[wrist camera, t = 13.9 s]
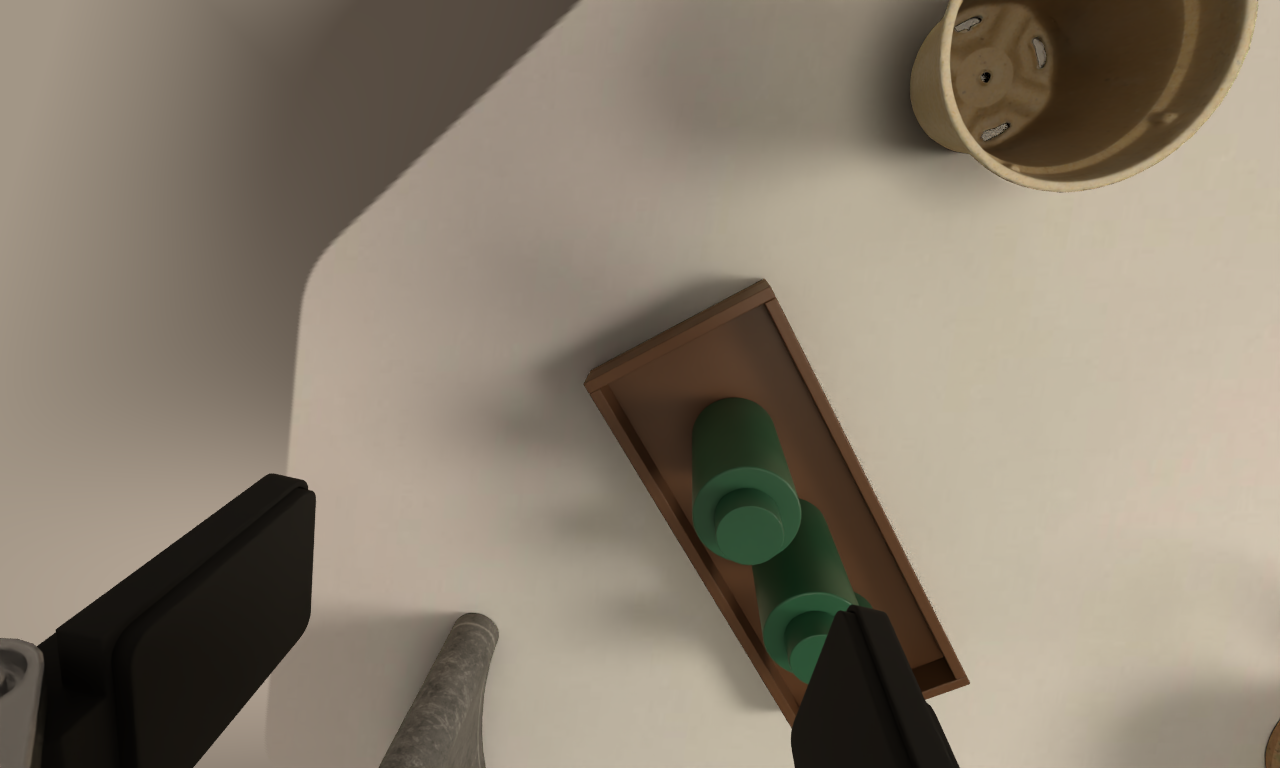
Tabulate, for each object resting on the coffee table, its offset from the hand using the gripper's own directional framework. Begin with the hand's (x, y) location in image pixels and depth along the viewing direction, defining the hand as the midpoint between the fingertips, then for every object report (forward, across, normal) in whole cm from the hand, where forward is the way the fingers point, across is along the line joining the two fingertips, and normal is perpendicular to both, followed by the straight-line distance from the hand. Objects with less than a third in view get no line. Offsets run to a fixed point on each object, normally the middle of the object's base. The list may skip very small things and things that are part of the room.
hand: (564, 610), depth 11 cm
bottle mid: (+22, -10, +10) cm, 26 cm away
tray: (+23, -10, +10) cm, 27 cm away
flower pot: (+23, -12, -14) cm, 30 cm away
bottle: (+22, -6, +5) cm, 24 cm away
